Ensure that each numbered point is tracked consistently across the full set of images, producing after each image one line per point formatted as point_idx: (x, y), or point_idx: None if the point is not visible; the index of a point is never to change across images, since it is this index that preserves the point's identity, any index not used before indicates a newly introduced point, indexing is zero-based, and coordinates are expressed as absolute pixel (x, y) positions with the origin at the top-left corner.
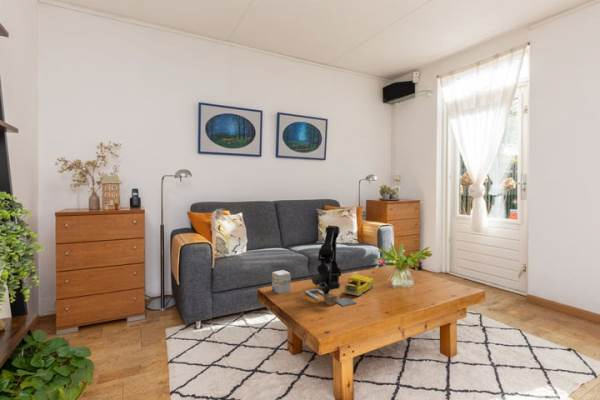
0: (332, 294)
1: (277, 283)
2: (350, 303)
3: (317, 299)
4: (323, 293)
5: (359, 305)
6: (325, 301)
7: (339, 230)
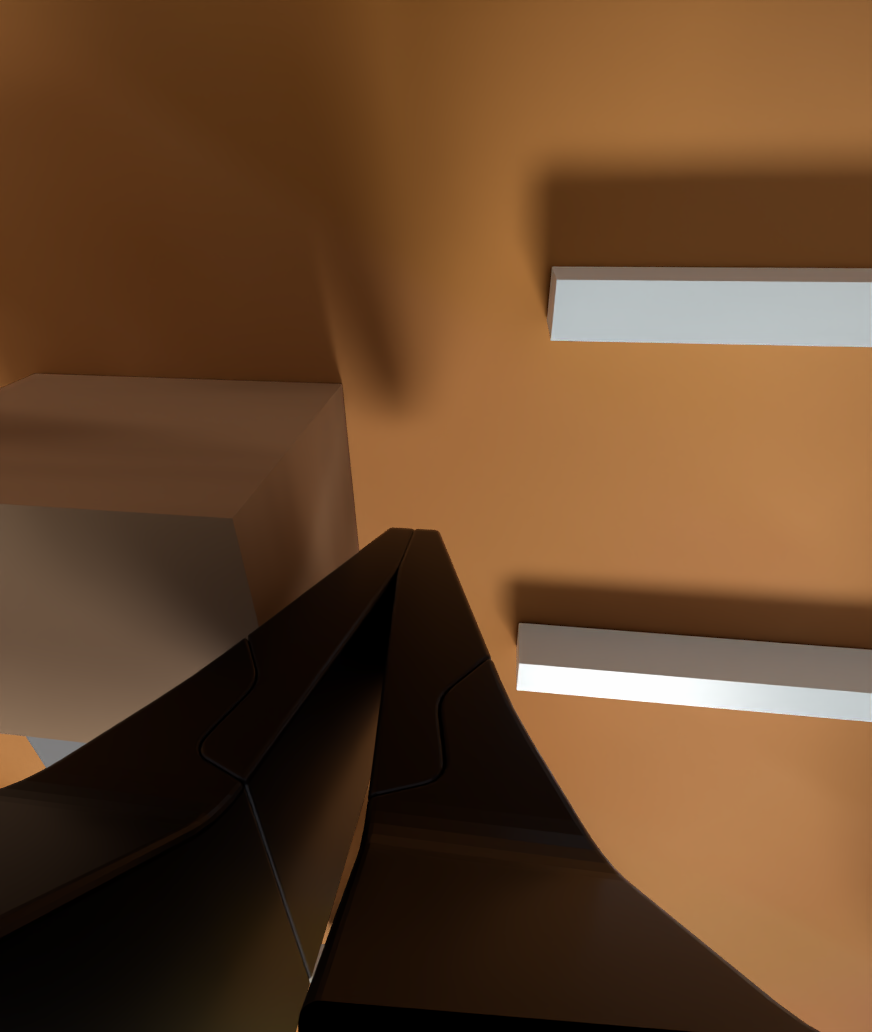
0: (100, 715)
1: None
2: (38, 739)
3: (568, 271)
4: (794, 680)
5: (9, 780)
6: (232, 393)
7: None
